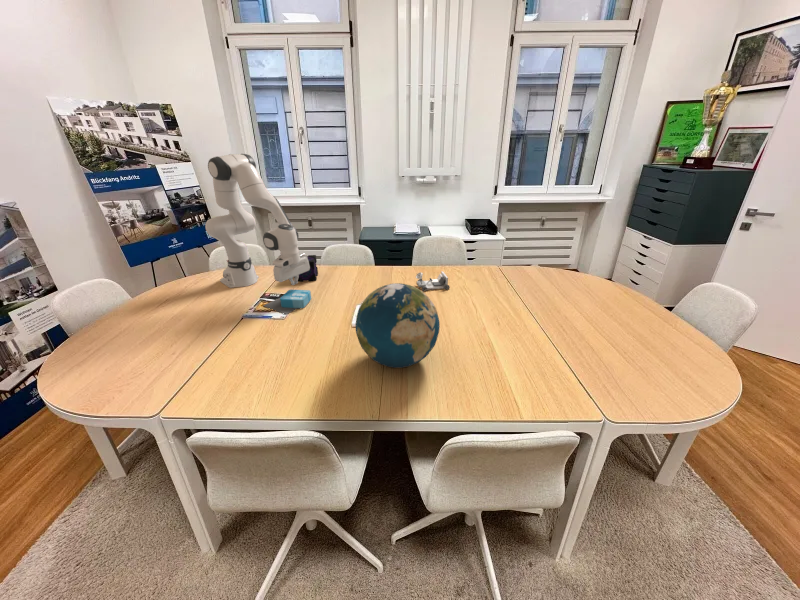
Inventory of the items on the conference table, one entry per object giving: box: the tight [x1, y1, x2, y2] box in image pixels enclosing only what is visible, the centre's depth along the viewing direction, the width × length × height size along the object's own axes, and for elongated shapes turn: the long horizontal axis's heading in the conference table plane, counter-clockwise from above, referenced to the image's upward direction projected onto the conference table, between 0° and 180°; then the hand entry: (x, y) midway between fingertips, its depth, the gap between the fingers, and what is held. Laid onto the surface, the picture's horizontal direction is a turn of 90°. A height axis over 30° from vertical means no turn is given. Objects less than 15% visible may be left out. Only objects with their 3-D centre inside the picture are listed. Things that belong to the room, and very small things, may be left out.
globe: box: [355, 282, 441, 369], centre depth 124 cm, size 30×30×30 cm
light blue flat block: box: [279, 289, 312, 309], centre depth 174 cm, size 12×4×12 cm
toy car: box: [415, 270, 450, 292], centre depth 191 cm, size 18×10×12 cm
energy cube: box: [293, 254, 319, 283], centre depth 204 cm, size 12×12×12 cm
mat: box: [262, 297, 299, 315], centre depth 174 cm, size 17×13×1 cm
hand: (294, 284), depth 176 cm, fingers closed
